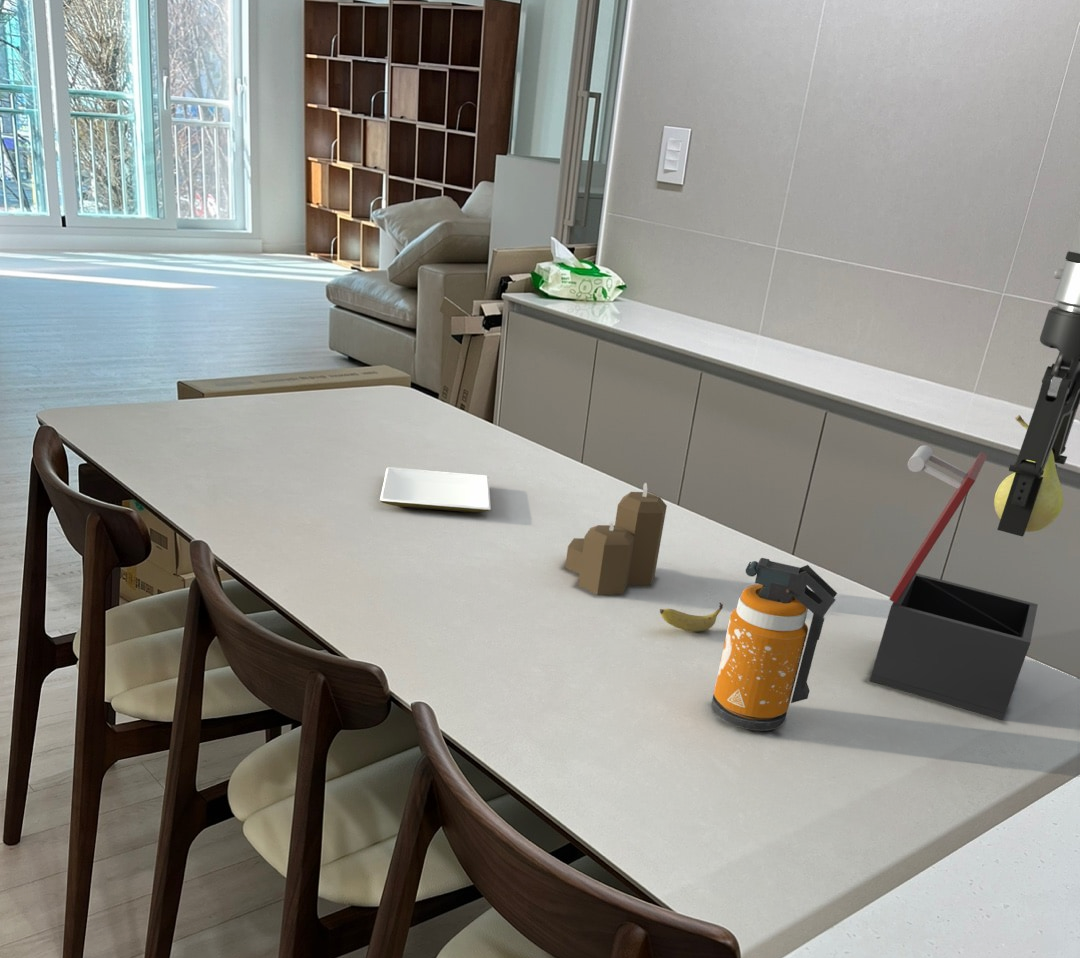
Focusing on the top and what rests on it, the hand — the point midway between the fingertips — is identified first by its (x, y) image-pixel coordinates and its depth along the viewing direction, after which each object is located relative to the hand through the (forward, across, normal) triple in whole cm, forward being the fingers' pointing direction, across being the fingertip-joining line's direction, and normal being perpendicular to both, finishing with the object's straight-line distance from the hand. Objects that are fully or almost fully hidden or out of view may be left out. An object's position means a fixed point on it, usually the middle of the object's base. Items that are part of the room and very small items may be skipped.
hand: (1018, 524), depth 118 cm
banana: (+27, -1, -37) cm, 46 cm away
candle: (+27, -10, -55) cm, 62 cm away
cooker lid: (+7, -13, -10) cm, 18 cm away
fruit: (+1, 0, 0) cm, 1 cm away
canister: (+27, +16, -19) cm, 37 cm away
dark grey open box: (+27, -14, -5) cm, 31 cm away
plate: (+27, -17, -96) cm, 101 cm away
